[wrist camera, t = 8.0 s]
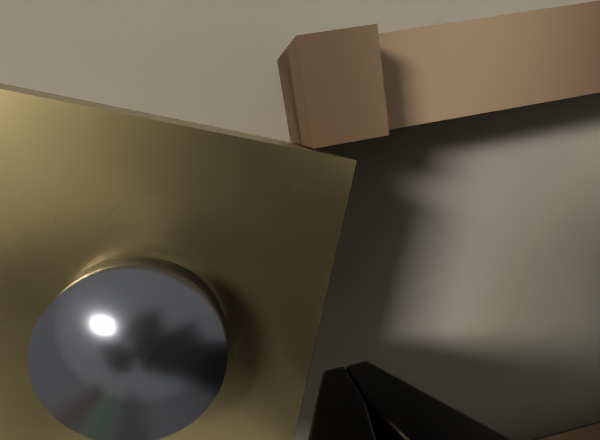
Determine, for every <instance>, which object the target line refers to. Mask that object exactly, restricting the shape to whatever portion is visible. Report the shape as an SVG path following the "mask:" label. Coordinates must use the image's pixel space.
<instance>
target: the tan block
mask: <svg viewBox="0 0 600 440" xmlns="http://www.w3.org/2000/svg"><path fill="white" fill-rule="evenodd" d="M356 162H357V160H353V159H350V158H347V157H344V156H341V155H337V154H334V153H331V152H328V151H324V150H321V149H318V148H314V149H313V148H310V147H307V146H304V145H301V144H296V143H291V142H286V141H281V140H276V139H271V138H267V137H262V136H257V135H252V134H247V133H242V132H237V131H232V130H227V129H222V128H217V127H213V126H208V125H203V124H198V123H193V122H188V121H183V120H178V119H173V118H168V117H163V116H158V115H154V114H149V113H144V112H139V111H134V110H129V109H124V108H119V107H114V106H109V105H104V104H100V103H95V102H90V101H85V100H80V99H75V98H70V97H65V96H60V95H55V94H50V93H45V92H41V91H36V90H31V89H26V88H21V87H16V86H11V85H6V84H1V83H0V440H294V435H295V431H296V426H297V422H298V418H299V413H300V409H301V404H302V400H303V396H304V391H305V387H306V382H307V378H308V374H309V369H310V365H311V360H312V356H313V352H314V347H315V343H316V338H317V334H318V330H319V325H320V321H321V316H322V312H323V308H324V303H325V299H326V294H327V290H328V286H329V281H330V277H331V272H332V268H333V264H334V259H335V255H336V250H337V246H338V242H339V237H340V233H341V228H342V224H343V220H344V215H345V211H346V206H347V202H348V198H349V193H350V189H351V184H352V180H353V176H354V171H355V167H356Z"/></svg>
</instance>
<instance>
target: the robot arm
mask: <svg viewBox="0 0 600 440" xmlns="http://www.w3.org/2000/svg"><path fill="white" fill-rule="evenodd" d="M308 440H513V439H511V438H509V437H507V436H505V435H503V434H501V433H500V432H498V431H496V430H494V429H492V428H490V427H488V426H487V425H485V424H483V423H481V422H479V421H477V420H475V419H474V418H472V417H470V416H468V415H466V414H464V413H462V412H461V411H459V410H457V409H455V408H453V407H451V406H449V405H448V404H446V403H444V402H442V401H440V400H438V399H436V398H434V397H433V396H431V395H429V394H427V393H425V392H423V391H421V390H420V389H418V388H416V387H414V386H412V385H410V384H408V383H407V382H405V381H403V380H401V379H399V378H397V377H395V376H394V375H392V374H390V373H388V372H386V371H384V370H382V369H381V368H379V367H377V366H375V365H373V364H371V363H369V362H367V361H364V362H360V363H356V364H352V365H348V366H347V367H346V369H345V368H344V367H339V368H335V369H331V370H327V371H325V372H324V373H323V376H322V381H321V385H320V389H319V394H318V398H317V403H316V407H315V411H314V416H313V420H312V425H311V429H310V434H309V438H308Z"/></svg>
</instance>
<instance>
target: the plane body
mask: <svg viewBox="0 0 600 440" xmlns="http://www.w3.org/2000/svg"><path fill="white" fill-rule="evenodd" d="M277 61H278V67H279V73H280V79H281V85H282V91H283V97H284V104H285V110H286V116H287V122H288V128H289V134H290V140H291V142H294V143H297V144H301V145H304V146H307V147H310V148H313V149H314V148H320V147H326V146H331V145H337V144H342V143H348V142H354V141H359V140H365V139H370V138H376V137H382V136H387V135H389V130H391V129H397V128H402V127H408V126H414V125H419V124H425V123H431V122H436V121H442V120H448V119H453V118H459V117H464V116H470V115H476V114H481V113H487V112H493V111H498V110H504V109H510V108H515V107H521V106H527V105H532V104H538V103H543V102H549V101H555V100H560V99H566V98H572V97H577V96H583V95H589V94H594V93H600V1H594V2H587V3H581V4H574V5H567V6H561V7H554V8H547V9H541V10H534V11H527V12H521V13H514V14H507V15H501V16H494V17H487V18H481V19H474V20H467V21H460V22H454V23H447V24H440V25H434V26H427V27H420V28H414V29H407V30H400V31H394V32H387V33H380V34H378V26H377V24H373V25H366V26H359V27H352V28H346V29H339V30H332V31H325V32H318V33H311V34H305V35H298V36H296V37H295V38H294V39H293V41H292V42H291V43H290V44H289V46H288V47H287V48H286V50H285V51H284V52H283V53H282V55H281V56H280V57H279V59H278V60H277ZM538 440H600V423H596V424H593V425H589V426H586V427H582V428H578V429H575V430H571V431H567V432H564V433H560V434H557V435H553V436H549V437H546V438H542V439H538Z"/></svg>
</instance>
